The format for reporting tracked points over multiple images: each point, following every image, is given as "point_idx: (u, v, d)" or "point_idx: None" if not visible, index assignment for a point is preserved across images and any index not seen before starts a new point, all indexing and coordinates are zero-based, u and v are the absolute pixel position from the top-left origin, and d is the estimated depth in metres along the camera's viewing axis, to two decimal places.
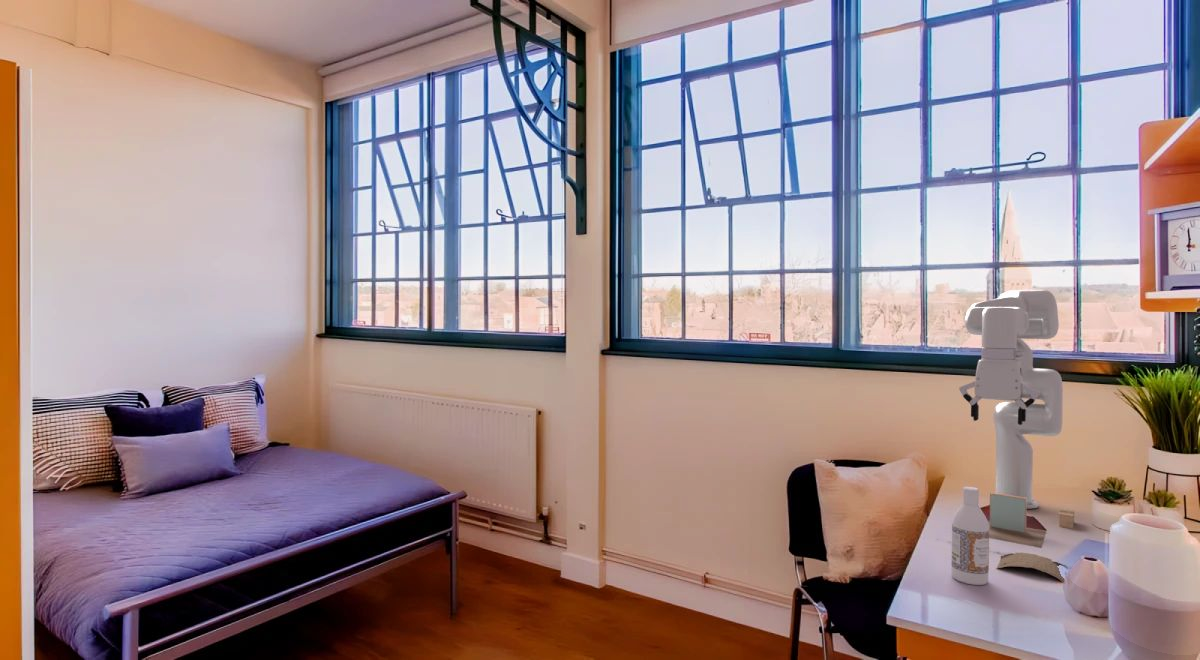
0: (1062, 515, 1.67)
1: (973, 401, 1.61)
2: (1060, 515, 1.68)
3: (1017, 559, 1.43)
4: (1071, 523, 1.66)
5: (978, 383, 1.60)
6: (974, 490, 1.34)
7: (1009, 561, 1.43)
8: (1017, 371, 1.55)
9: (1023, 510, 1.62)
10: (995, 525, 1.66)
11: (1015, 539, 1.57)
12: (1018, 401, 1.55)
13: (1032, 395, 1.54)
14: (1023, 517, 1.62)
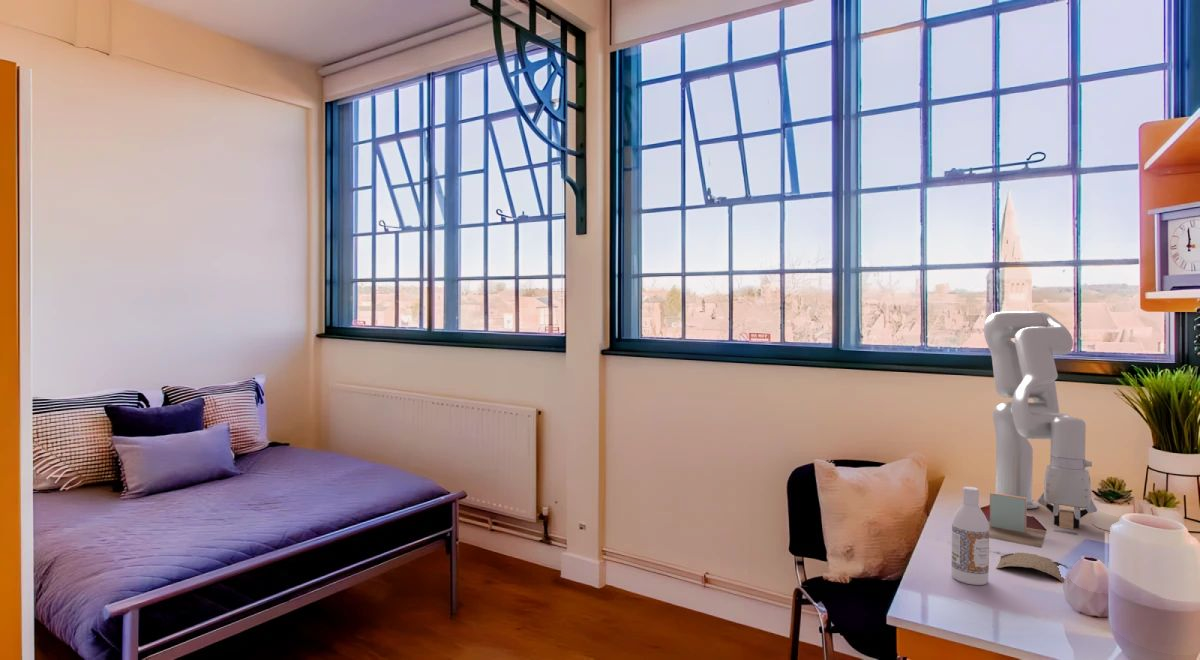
0: (1062, 513, 1.67)
1: (1055, 511, 1.69)
2: (1060, 513, 1.68)
3: (1017, 559, 1.43)
4: (1071, 521, 1.66)
5: (1048, 489, 1.69)
6: (974, 490, 1.34)
7: (1009, 561, 1.43)
8: (1086, 481, 1.64)
9: (1023, 510, 1.62)
10: (995, 525, 1.66)
11: (1015, 539, 1.57)
12: (1077, 510, 1.66)
13: (1089, 509, 1.65)
14: (1023, 517, 1.62)
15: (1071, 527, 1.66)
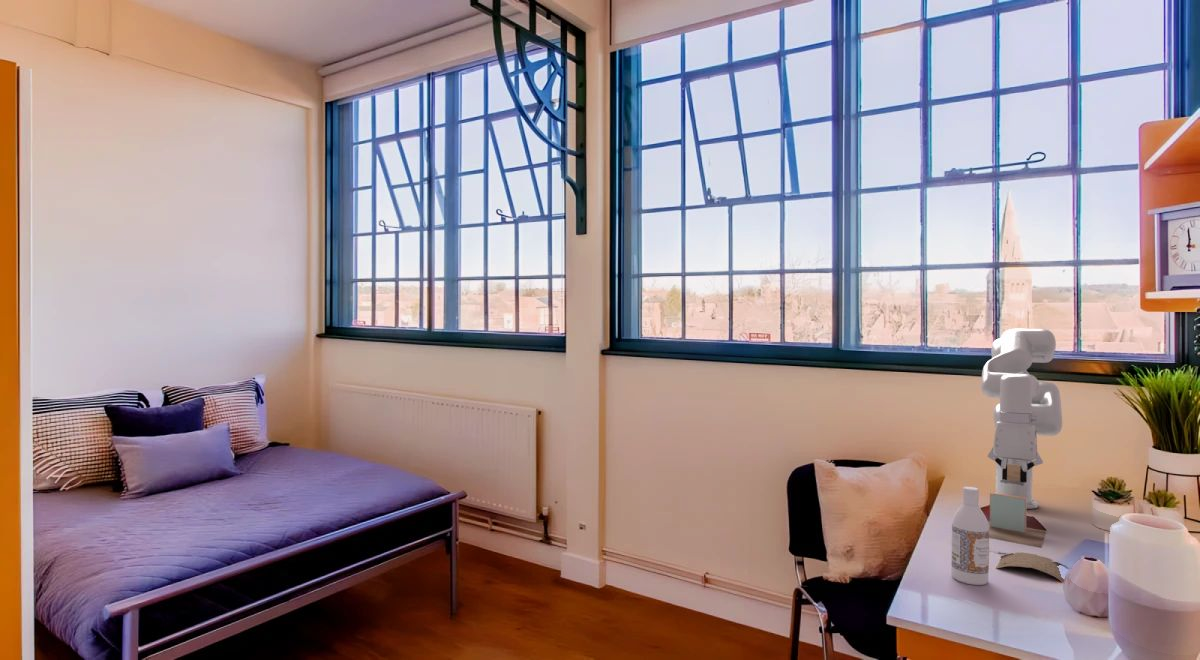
0: (1010, 466, 1.75)
1: (1003, 465, 1.77)
2: (1008, 466, 1.75)
3: (1017, 559, 1.43)
4: (1018, 473, 1.73)
5: (996, 443, 1.77)
6: (974, 490, 1.34)
7: (1009, 561, 1.43)
8: (1032, 434, 1.72)
9: (1023, 510, 1.62)
10: (995, 525, 1.66)
11: (1015, 539, 1.57)
12: (1024, 463, 1.74)
13: (1035, 461, 1.73)
14: (1023, 517, 1.62)
15: (1018, 479, 1.73)
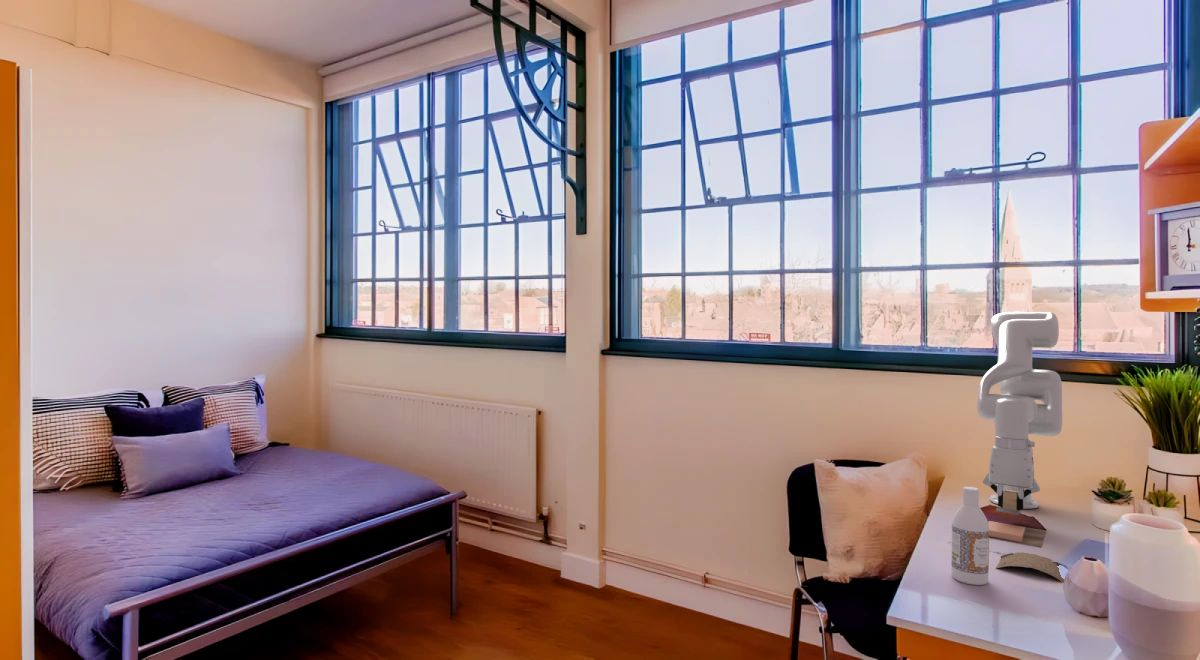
0: (1006, 493, 1.69)
1: (999, 491, 1.70)
2: (1004, 493, 1.69)
3: (1017, 559, 1.43)
4: (1014, 501, 1.67)
5: (992, 469, 1.71)
6: (974, 490, 1.34)
7: (1009, 561, 1.43)
8: (1029, 461, 1.65)
9: None
10: None
11: None
12: (1020, 490, 1.67)
13: (1032, 488, 1.66)
14: None
15: (1014, 507, 1.67)
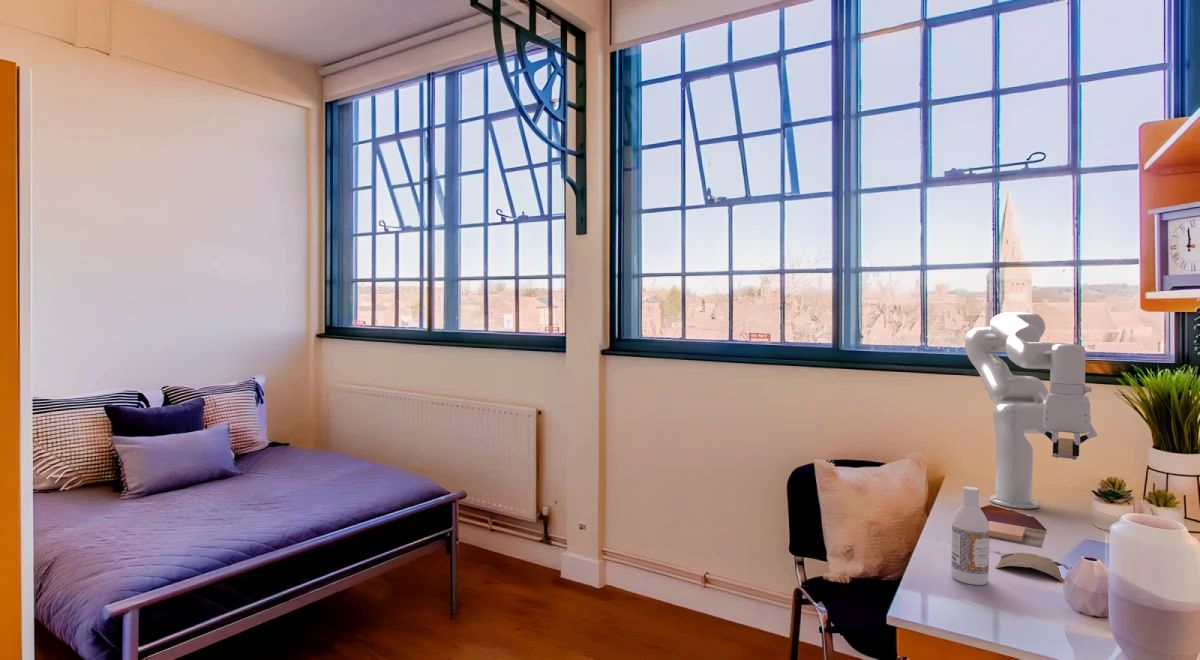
0: (1061, 439, 1.67)
1: (1054, 438, 1.69)
2: (1059, 439, 1.67)
3: (1016, 559, 1.43)
4: (1070, 447, 1.66)
5: (1047, 416, 1.69)
6: (974, 490, 1.34)
7: (1008, 561, 1.43)
8: (1086, 406, 1.64)
9: None
10: None
11: None
12: (1076, 436, 1.66)
13: (1089, 434, 1.65)
14: None
15: (1070, 453, 1.65)
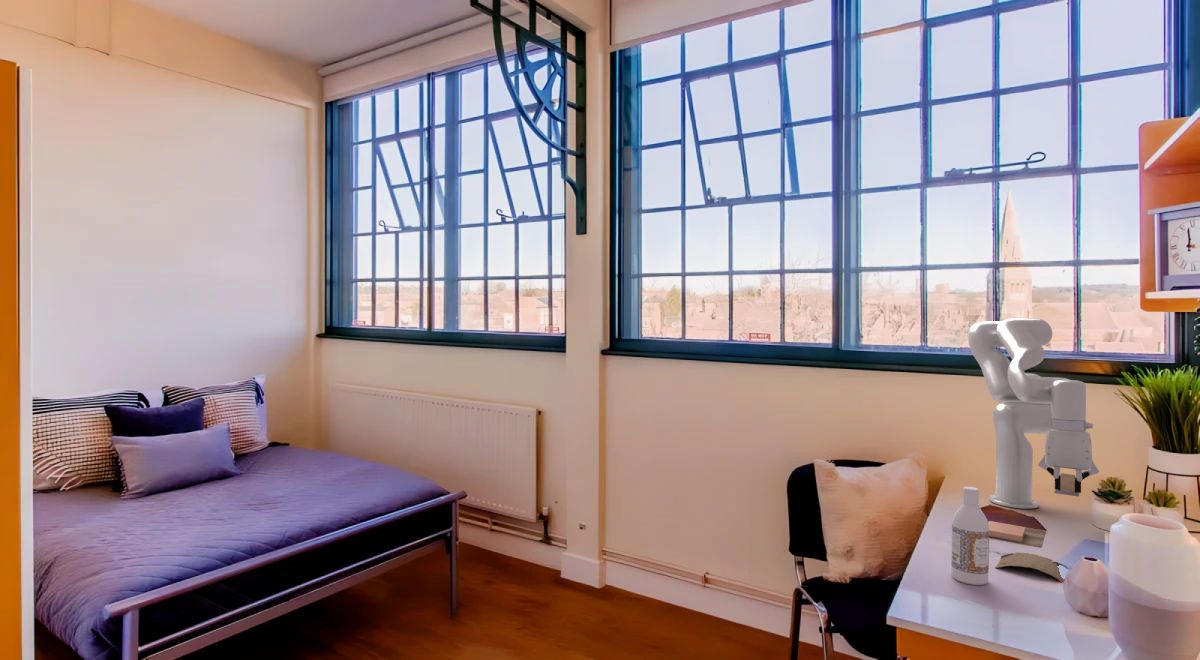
0: (1063, 475, 1.67)
1: (1056, 474, 1.68)
2: (1061, 475, 1.67)
3: (1016, 559, 1.43)
4: (1072, 483, 1.65)
5: (1048, 452, 1.69)
6: (974, 490, 1.34)
7: (1008, 561, 1.43)
8: (1087, 442, 1.64)
9: None
10: None
11: None
12: (1078, 473, 1.65)
13: (1091, 470, 1.64)
14: None
15: (1072, 489, 1.65)
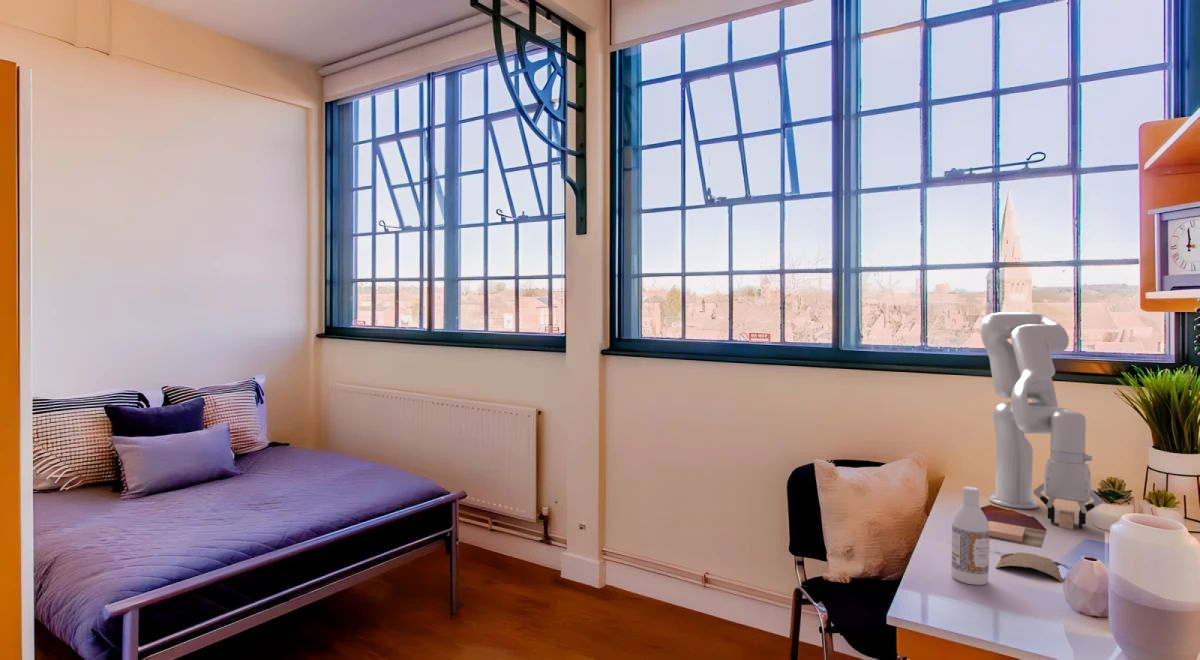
0: (1062, 516, 1.67)
1: (1049, 504, 1.70)
2: (1060, 516, 1.67)
3: (1016, 559, 1.43)
4: (1071, 524, 1.65)
5: (1048, 483, 1.69)
6: (974, 490, 1.34)
7: (1008, 561, 1.43)
8: (1086, 475, 1.64)
9: None
10: None
11: None
12: (1081, 505, 1.65)
13: (1095, 501, 1.64)
14: None
15: None
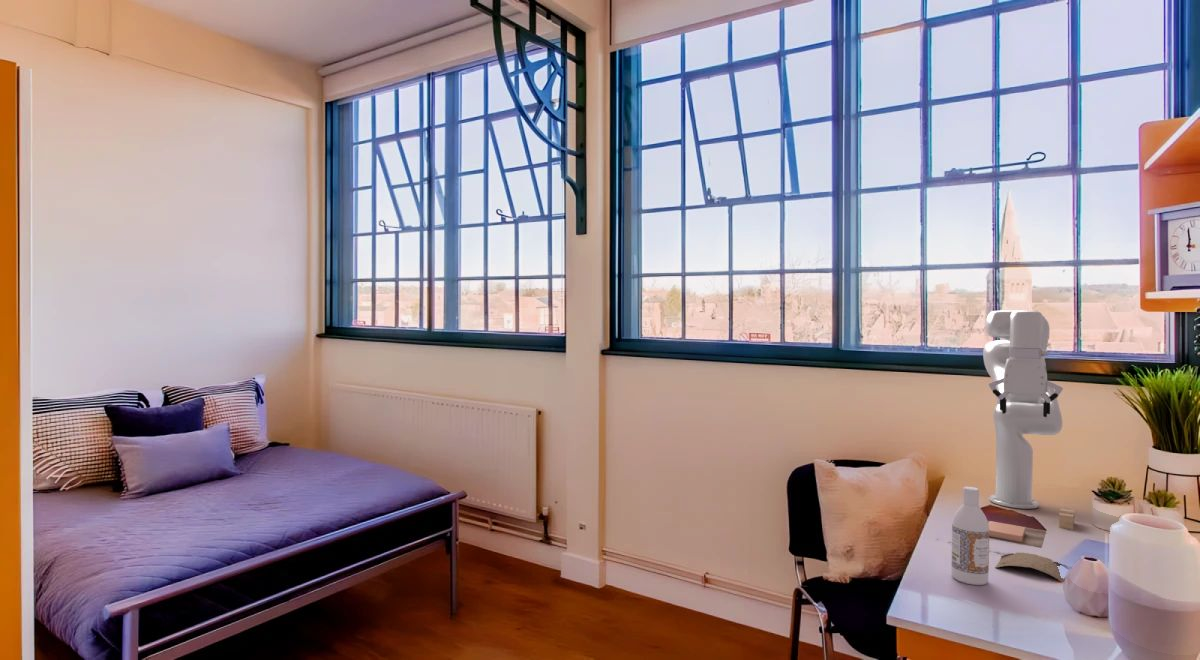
0: (1062, 516, 1.67)
1: (1002, 396, 1.79)
2: (1060, 516, 1.67)
3: (1016, 559, 1.44)
4: (1071, 524, 1.65)
5: (1006, 379, 1.77)
6: (974, 490, 1.34)
7: (1008, 561, 1.43)
8: (1042, 369, 1.72)
9: None
10: None
11: None
12: (1043, 396, 1.72)
13: (1056, 390, 1.71)
14: None
15: None
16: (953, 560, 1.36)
